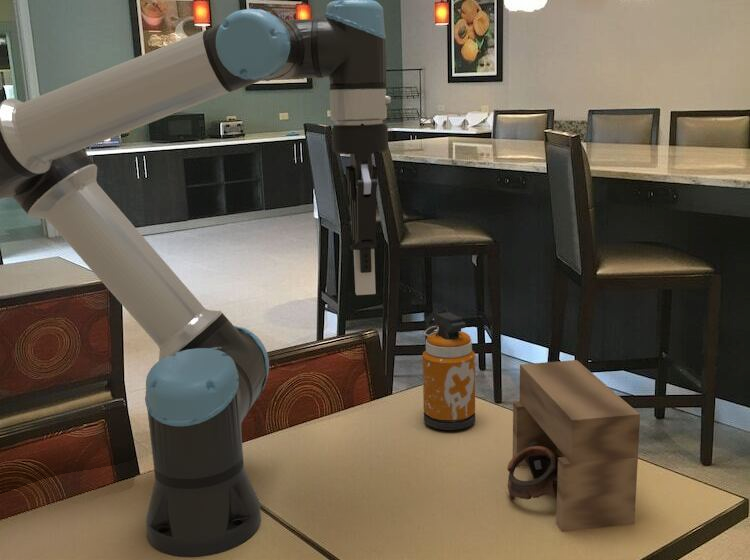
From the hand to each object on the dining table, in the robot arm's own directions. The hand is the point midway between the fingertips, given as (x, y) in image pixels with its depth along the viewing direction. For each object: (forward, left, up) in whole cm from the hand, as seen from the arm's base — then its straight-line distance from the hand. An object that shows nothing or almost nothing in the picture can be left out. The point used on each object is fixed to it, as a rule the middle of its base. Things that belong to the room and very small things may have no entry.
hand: (365, 293), depth 111 cm
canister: (+16, +20, -30) cm, 39 cm away
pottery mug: (+25, -7, -31) cm, 40 cm away
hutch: (+23, -8, -29) cm, 38 cm away
